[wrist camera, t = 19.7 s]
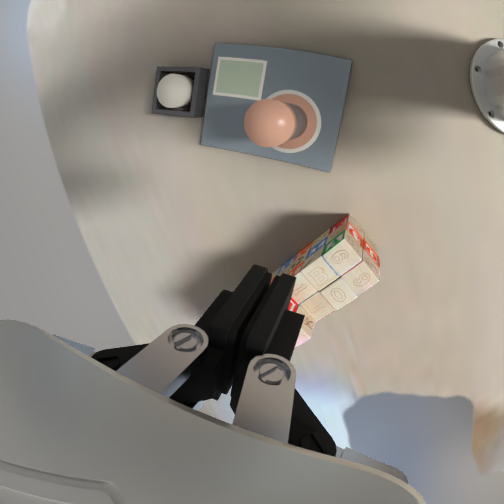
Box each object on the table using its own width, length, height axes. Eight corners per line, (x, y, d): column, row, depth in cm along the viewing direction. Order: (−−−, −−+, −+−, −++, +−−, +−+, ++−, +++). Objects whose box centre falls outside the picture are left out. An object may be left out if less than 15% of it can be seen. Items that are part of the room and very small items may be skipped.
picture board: (352, 61, 31) (351, 60, 30) (330, 171, 37) (329, 172, 37) (217, 44, 35) (214, 42, 34) (203, 144, 41) (200, 144, 40)
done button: (198, 75, 37) (189, 74, 35) (193, 109, 39) (184, 109, 37) (168, 74, 38) (158, 73, 36) (164, 106, 40) (154, 106, 38)
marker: (311, 106, 34) (296, 103, 26) (304, 143, 36) (287, 152, 28) (273, 99, 35) (247, 95, 27) (267, 135, 37) (240, 142, 29)
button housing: (208, 69, 37) (200, 67, 35) (202, 116, 40) (193, 117, 38) (167, 68, 38) (157, 66, 36) (161, 112, 41) (151, 113, 39)
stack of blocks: (349, 211, 39) (343, 249, 28) (379, 247, 39) (382, 297, 29) (238, 296, 50) (204, 346, 39) (266, 324, 50) (238, 378, 39)
